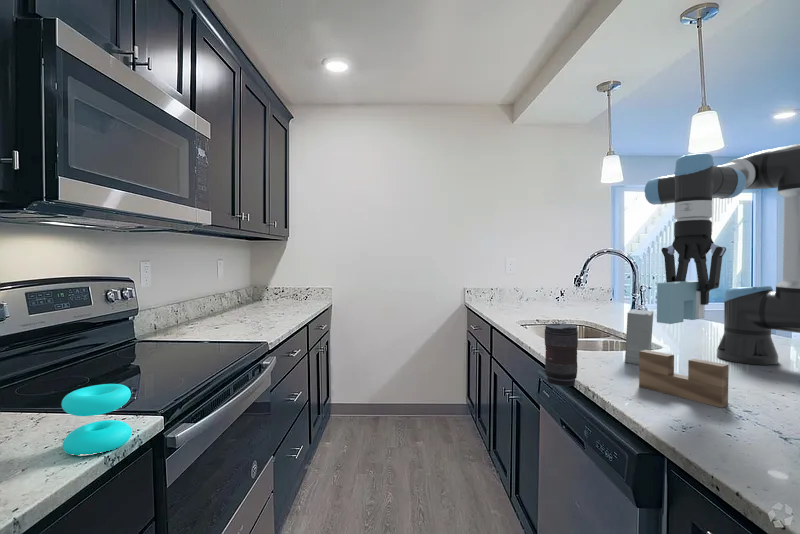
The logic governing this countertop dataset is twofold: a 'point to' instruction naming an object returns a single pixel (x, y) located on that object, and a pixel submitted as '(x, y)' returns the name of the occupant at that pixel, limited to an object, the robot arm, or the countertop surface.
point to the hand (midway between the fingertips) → (691, 317)
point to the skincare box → (638, 334)
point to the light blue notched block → (676, 301)
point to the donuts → (101, 432)
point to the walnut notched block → (685, 378)
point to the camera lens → (561, 353)
